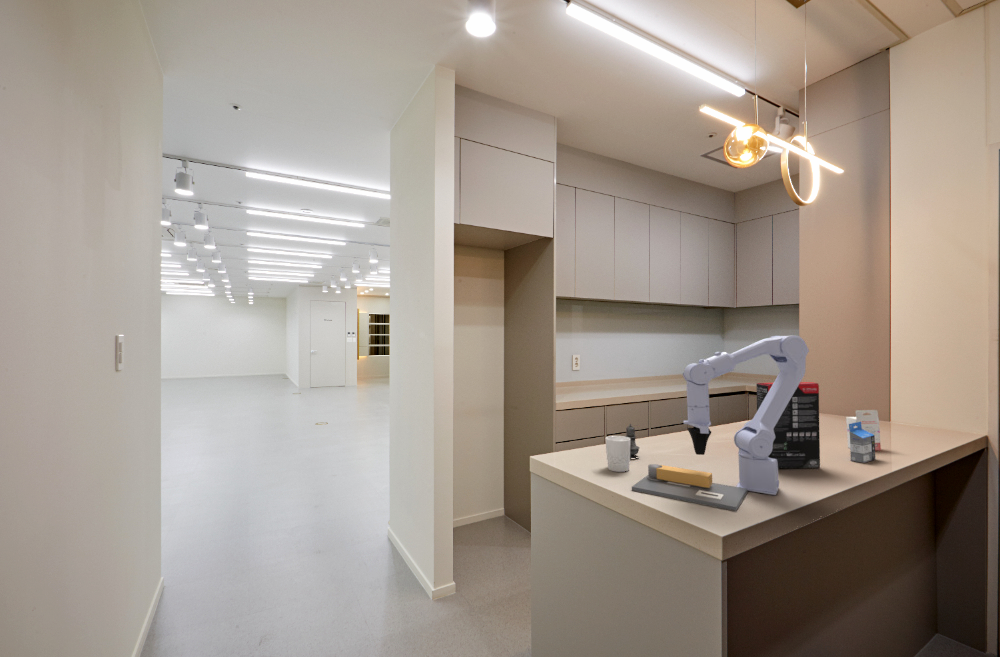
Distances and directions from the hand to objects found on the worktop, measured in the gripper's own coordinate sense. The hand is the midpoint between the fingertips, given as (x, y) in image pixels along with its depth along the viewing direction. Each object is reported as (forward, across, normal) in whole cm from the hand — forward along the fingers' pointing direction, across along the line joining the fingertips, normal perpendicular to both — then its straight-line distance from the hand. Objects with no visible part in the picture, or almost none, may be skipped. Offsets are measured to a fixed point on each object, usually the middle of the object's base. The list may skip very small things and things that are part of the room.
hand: (699, 454), depth 122 cm
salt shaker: (+10, -30, -17) cm, 36 cm away
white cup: (+10, -14, -22) cm, 28 cm away
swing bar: (+8, 0, -6) cm, 10 cm away
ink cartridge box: (+10, -54, +67) cm, 86 cm away
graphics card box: (+10, -26, +32) cm, 42 cm away
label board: (+9, +4, -4) cm, 11 cm away
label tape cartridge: (+10, -38, +58) cm, 70 cm away
